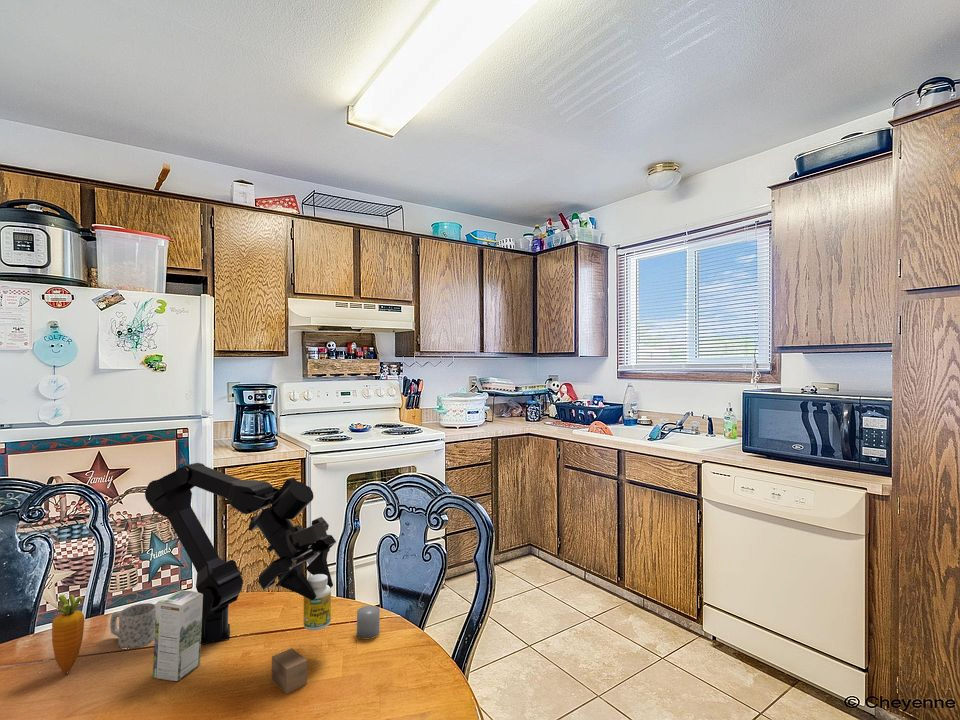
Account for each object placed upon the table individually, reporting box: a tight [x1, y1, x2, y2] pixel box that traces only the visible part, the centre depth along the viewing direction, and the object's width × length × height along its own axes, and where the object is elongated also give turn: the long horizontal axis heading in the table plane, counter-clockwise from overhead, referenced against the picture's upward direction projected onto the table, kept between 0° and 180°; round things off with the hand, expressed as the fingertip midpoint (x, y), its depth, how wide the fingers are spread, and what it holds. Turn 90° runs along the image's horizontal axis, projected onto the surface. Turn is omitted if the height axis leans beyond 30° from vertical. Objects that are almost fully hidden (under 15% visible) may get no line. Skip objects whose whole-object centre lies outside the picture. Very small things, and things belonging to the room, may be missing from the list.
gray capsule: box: [356, 605, 381, 639], centre depth 112 cm, size 5×5×5 cm
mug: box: [109, 602, 156, 650], centre depth 108 cm, size 10×7×7 cm, turn 80°
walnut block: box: [270, 647, 308, 695], centre depth 94 cm, size 6×4×4 cm, turn 48°
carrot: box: [51, 594, 85, 674], centre depth 96 cm, size 5×5×15 cm
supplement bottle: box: [303, 574, 332, 631], centre depth 102 cm, size 5×5×10 cm
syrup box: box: [152, 589, 203, 682], centre depth 97 cm, size 6×6×14 cm
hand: (323, 592), depth 102 cm, fingers closed on supplement bottle, 5 cm apart
